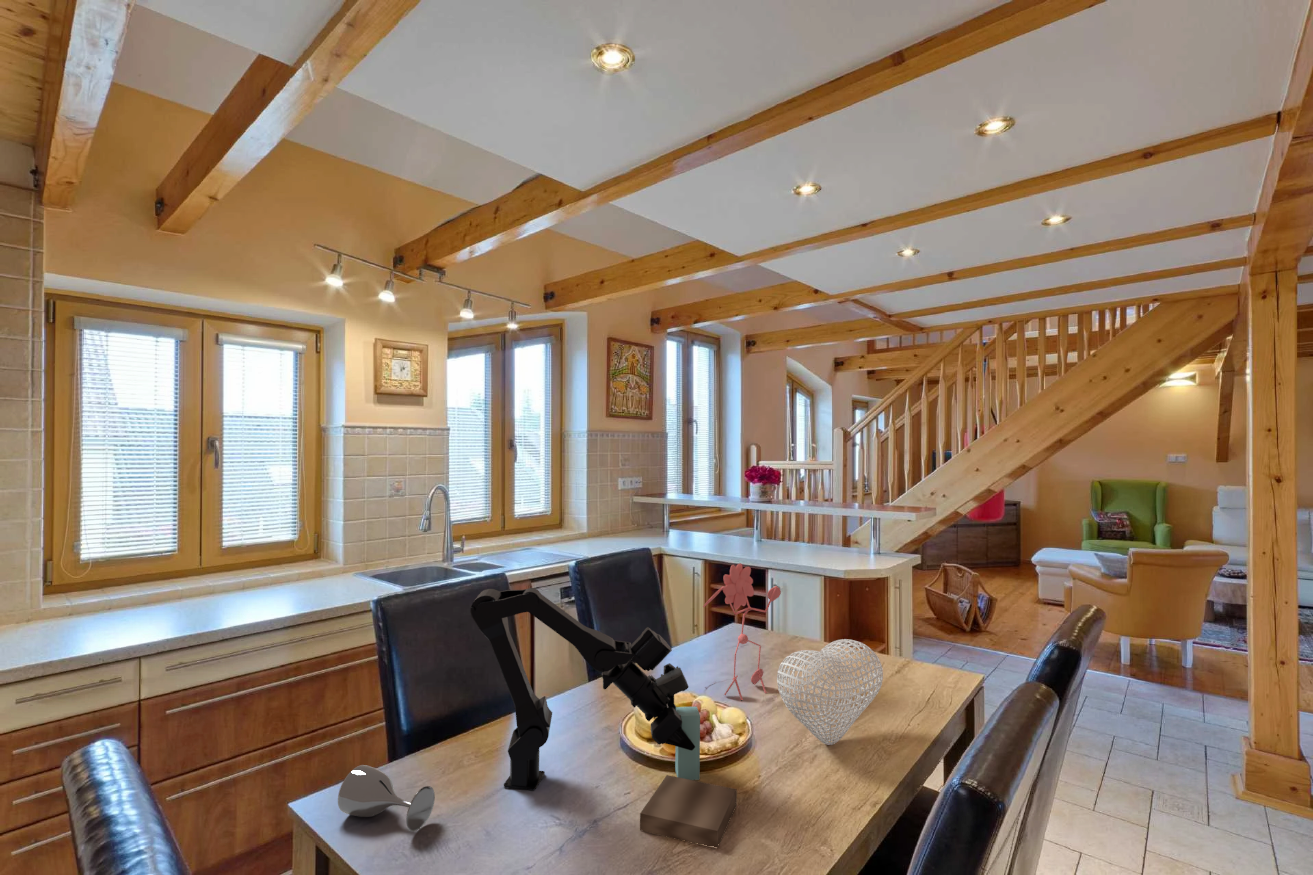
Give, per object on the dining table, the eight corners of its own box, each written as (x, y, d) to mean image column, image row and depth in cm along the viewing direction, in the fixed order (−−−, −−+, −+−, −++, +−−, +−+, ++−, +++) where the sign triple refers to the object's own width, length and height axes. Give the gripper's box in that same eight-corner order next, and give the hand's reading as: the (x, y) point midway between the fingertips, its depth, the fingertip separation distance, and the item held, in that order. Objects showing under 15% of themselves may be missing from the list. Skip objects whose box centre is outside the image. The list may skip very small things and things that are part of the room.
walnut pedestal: (639, 830, 112) (640, 813, 112) (666, 790, 126) (666, 775, 126) (717, 848, 108) (717, 831, 108) (736, 805, 121) (736, 789, 121)
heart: (840, 717, 160) (840, 628, 161) (895, 740, 148) (896, 644, 148) (762, 748, 144) (763, 648, 144) (817, 777, 131) (818, 668, 131)
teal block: (678, 780, 129) (678, 716, 129) (675, 769, 134) (675, 707, 134) (699, 779, 130) (700, 715, 130) (696, 768, 134) (696, 706, 134)
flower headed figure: (789, 687, 180) (787, 562, 181) (722, 710, 164) (720, 572, 165) (749, 672, 192) (748, 555, 193) (683, 692, 176) (682, 564, 177)
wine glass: (428, 773, 114) (363, 755, 119) (398, 816, 107) (331, 794, 113) (441, 801, 117) (377, 783, 123) (413, 844, 111) (347, 822, 116)
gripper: (670, 673, 122) (726, 729, 123) (660, 643, 141) (709, 691, 142) (628, 716, 121) (686, 772, 122) (624, 680, 140) (673, 729, 141)
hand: (690, 738), depth 132 cm, fingers open, 9 cm apart
